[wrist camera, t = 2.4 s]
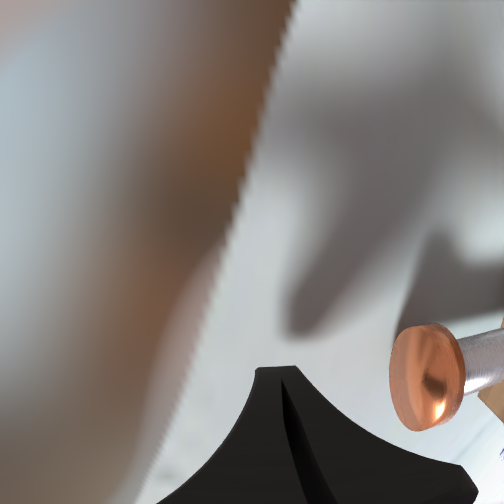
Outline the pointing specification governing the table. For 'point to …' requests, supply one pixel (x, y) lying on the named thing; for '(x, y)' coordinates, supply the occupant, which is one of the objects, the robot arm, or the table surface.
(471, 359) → the pin
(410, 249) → the table surface
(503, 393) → the block
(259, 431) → the robot arm
